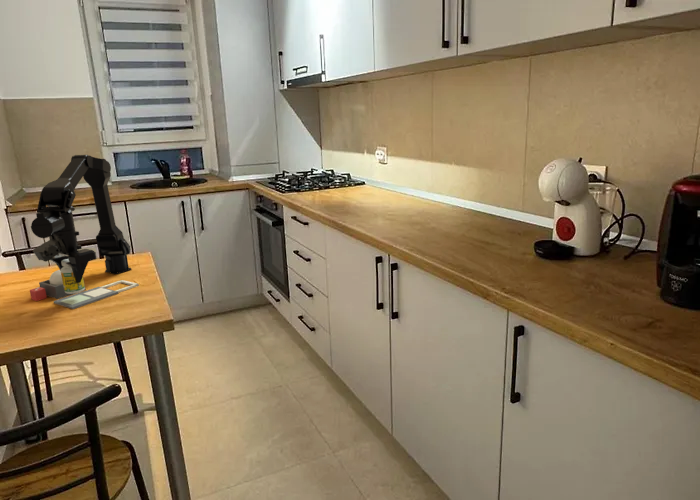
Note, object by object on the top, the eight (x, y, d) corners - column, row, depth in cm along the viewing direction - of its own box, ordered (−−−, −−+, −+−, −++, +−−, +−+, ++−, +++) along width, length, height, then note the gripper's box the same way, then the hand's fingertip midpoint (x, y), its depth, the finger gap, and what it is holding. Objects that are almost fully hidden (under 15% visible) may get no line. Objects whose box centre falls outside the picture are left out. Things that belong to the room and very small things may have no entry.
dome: (67, 284, 165) (64, 265, 163) (80, 288, 161) (76, 268, 159) (45, 291, 159) (41, 271, 157) (58, 294, 155) (54, 274, 154)
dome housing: (69, 285, 166) (67, 274, 165) (85, 289, 162) (83, 278, 161) (27, 298, 156) (25, 286, 155) (43, 303, 151) (41, 291, 150)
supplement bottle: (85, 286, 154) (79, 256, 152) (85, 292, 150) (79, 260, 147) (64, 289, 152) (59, 259, 149) (64, 295, 147) (58, 263, 145)
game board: (120, 281, 169) (120, 279, 169) (140, 286, 164) (139, 283, 164) (53, 303, 151) (53, 300, 151) (73, 309, 146) (72, 306, 146)
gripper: (17, 232, 144) (27, 284, 148) (53, 239, 134) (64, 295, 139) (56, 224, 153) (65, 273, 157) (93, 230, 144) (101, 283, 148)
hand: (73, 281), depth 150 cm, fingers closed on supplement bottle, 5 cm apart
